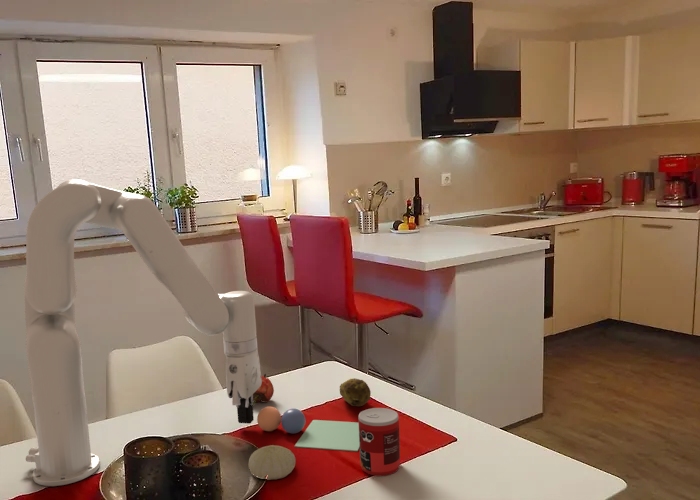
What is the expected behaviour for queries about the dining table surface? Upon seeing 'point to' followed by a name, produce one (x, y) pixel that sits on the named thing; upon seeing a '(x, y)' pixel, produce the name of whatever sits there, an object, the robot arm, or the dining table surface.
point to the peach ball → (269, 418)
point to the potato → (355, 392)
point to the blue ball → (293, 421)
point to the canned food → (379, 441)
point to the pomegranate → (263, 391)
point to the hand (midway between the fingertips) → (246, 421)
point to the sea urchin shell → (272, 462)
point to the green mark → (331, 435)
